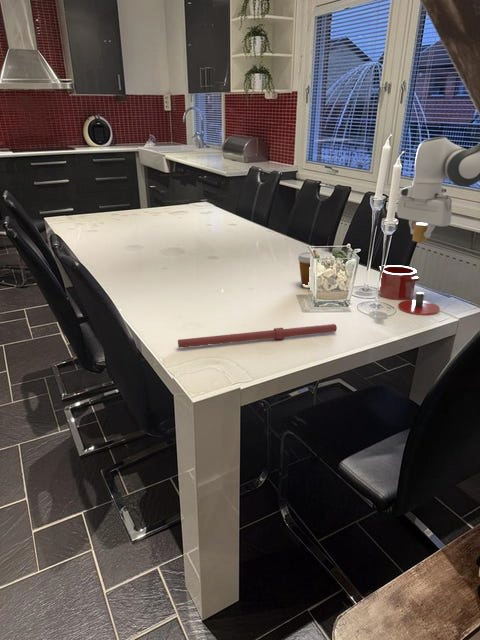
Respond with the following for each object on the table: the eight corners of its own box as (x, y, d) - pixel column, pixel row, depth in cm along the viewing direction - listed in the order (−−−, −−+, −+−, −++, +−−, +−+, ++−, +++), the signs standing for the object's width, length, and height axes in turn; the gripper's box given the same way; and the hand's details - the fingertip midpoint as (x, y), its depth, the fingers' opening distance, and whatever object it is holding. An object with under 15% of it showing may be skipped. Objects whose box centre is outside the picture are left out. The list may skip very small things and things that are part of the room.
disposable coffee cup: (298, 290, 172) (299, 258, 167) (296, 282, 181) (296, 252, 176) (324, 289, 172) (326, 257, 167) (320, 282, 180) (322, 251, 176)
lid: (418, 301, 158) (421, 285, 156) (448, 313, 147) (450, 295, 145) (389, 307, 153) (391, 290, 151) (417, 319, 142) (419, 302, 140)
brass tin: (419, 238, 155) (421, 222, 153) (429, 241, 152) (432, 224, 150) (409, 240, 154) (411, 223, 152) (419, 242, 150) (421, 225, 148)
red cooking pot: (392, 287, 172) (394, 262, 169) (426, 300, 158) (430, 273, 154) (366, 291, 168) (368, 266, 165) (399, 306, 154) (402, 278, 150)
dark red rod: (333, 330, 136) (333, 320, 134) (337, 334, 133) (338, 324, 132) (178, 346, 127) (177, 336, 126) (179, 351, 124) (178, 340, 123)
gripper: (460, 195, 139) (452, 240, 145) (410, 188, 157) (405, 229, 162) (444, 196, 137) (437, 242, 142) (396, 189, 154) (391, 231, 160)
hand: (420, 235), depth 152 cm, fingers closed on brass tin, 4 cm apart
